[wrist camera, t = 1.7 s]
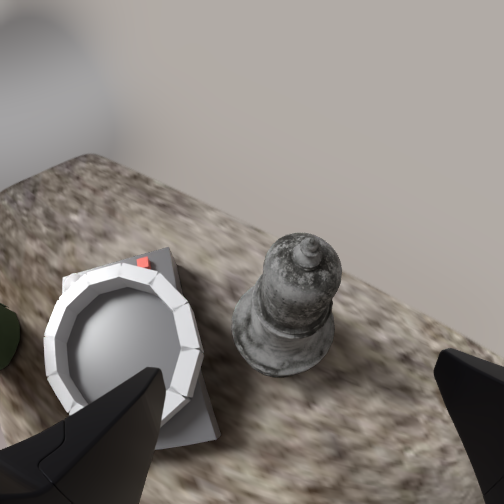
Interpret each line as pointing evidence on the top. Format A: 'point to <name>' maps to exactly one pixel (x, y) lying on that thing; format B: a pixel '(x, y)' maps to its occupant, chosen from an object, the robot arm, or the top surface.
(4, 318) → the character mug
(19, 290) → the top surface
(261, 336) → the grey stone finial
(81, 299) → the faceted bowl on plate
